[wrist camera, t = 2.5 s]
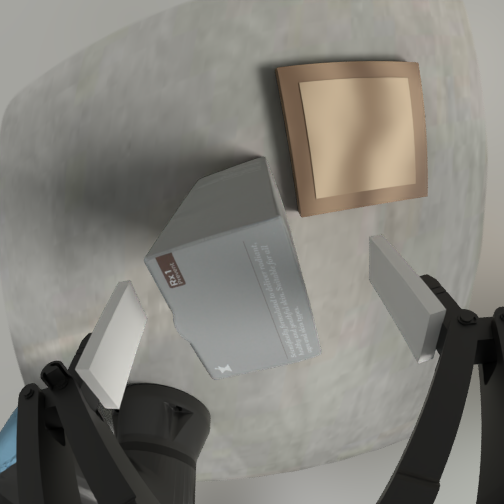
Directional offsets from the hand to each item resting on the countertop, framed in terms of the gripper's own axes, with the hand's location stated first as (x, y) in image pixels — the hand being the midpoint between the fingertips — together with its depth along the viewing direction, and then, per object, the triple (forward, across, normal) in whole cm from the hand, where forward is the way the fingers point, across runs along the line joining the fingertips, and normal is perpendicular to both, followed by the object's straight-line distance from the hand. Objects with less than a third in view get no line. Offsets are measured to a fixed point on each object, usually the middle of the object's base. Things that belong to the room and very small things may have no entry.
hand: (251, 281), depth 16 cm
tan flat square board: (+13, +11, +5) cm, 18 cm away
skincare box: (+13, 0, 0) cm, 13 cm away
